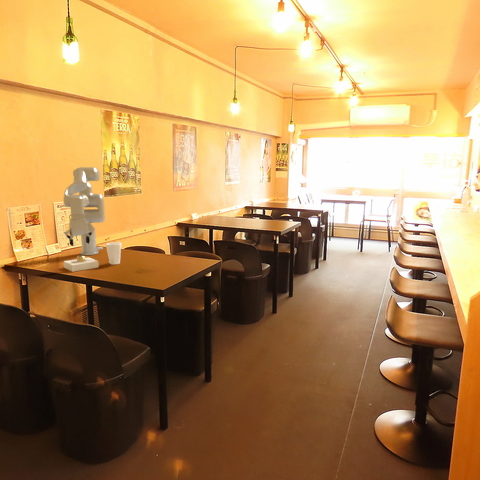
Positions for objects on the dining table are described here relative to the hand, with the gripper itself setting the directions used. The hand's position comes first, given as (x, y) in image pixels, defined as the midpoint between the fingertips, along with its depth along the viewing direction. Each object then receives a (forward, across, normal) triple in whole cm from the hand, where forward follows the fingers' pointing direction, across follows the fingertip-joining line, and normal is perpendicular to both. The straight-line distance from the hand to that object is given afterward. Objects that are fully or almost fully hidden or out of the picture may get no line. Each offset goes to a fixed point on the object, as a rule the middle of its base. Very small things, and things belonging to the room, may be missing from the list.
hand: (79, 244), depth 249 cm
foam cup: (+15, -20, +5) cm, 25 cm away
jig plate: (+14, 0, +1) cm, 14 cm away
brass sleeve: (+14, 0, +1) cm, 15 cm away
